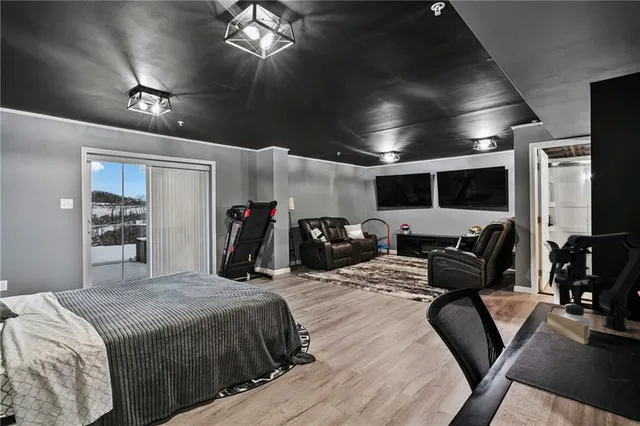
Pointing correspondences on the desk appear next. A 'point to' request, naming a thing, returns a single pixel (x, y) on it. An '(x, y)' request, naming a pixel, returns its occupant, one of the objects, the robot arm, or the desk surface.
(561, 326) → the oak wall
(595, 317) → the desk surface
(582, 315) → the medicine bottle
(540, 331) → the desk surface
